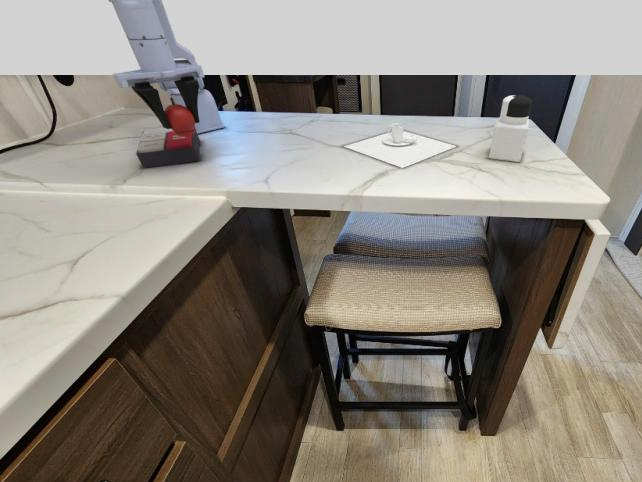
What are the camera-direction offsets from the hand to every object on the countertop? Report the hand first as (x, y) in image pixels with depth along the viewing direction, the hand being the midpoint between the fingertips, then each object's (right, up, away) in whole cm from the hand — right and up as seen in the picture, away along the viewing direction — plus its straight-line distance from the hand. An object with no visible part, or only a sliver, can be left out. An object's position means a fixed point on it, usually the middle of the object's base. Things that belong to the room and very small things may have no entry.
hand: (181, 124), depth 66 cm
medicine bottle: (+69, -1, +12) cm, 70 cm away
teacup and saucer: (+44, +3, +16) cm, 47 cm away
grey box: (-9, -1, +11) cm, 14 cm away
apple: (0, -1, +1) cm, 2 cm away
